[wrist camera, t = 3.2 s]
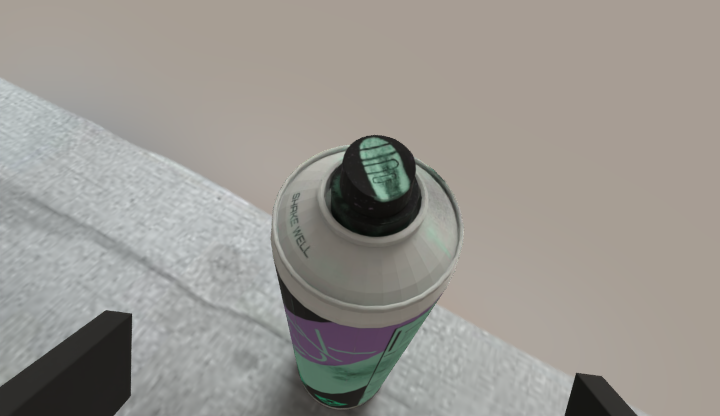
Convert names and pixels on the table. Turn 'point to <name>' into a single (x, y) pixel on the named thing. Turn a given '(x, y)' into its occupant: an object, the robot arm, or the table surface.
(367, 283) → the spray can
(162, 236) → the table surface
